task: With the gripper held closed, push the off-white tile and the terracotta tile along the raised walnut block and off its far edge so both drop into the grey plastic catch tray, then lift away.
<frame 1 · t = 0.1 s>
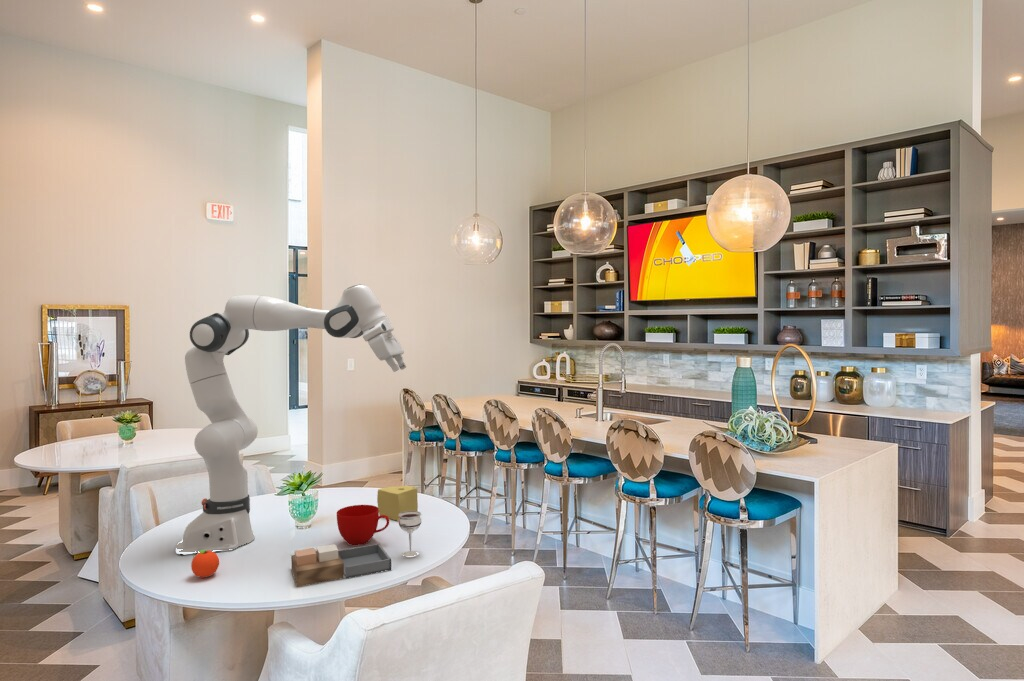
hand: (400, 369, 191), 54 cm above the table, tool tilted 30°, fingers open, 8 cm apart
tile a: (327, 557, 170), point 4 cm above the table, touching walnut block
tile b: (305, 561, 167), point 4 cm above the table, touching walnut block
cheese: (398, 516, 220), on the table
clementine: (204, 576, 168), on the table
wineglass: (410, 555, 182), on the table
walnut block: (317, 573, 168), on the table
catch tray: (363, 565, 174), on the table
ceramic cup: (364, 542, 193), on the table
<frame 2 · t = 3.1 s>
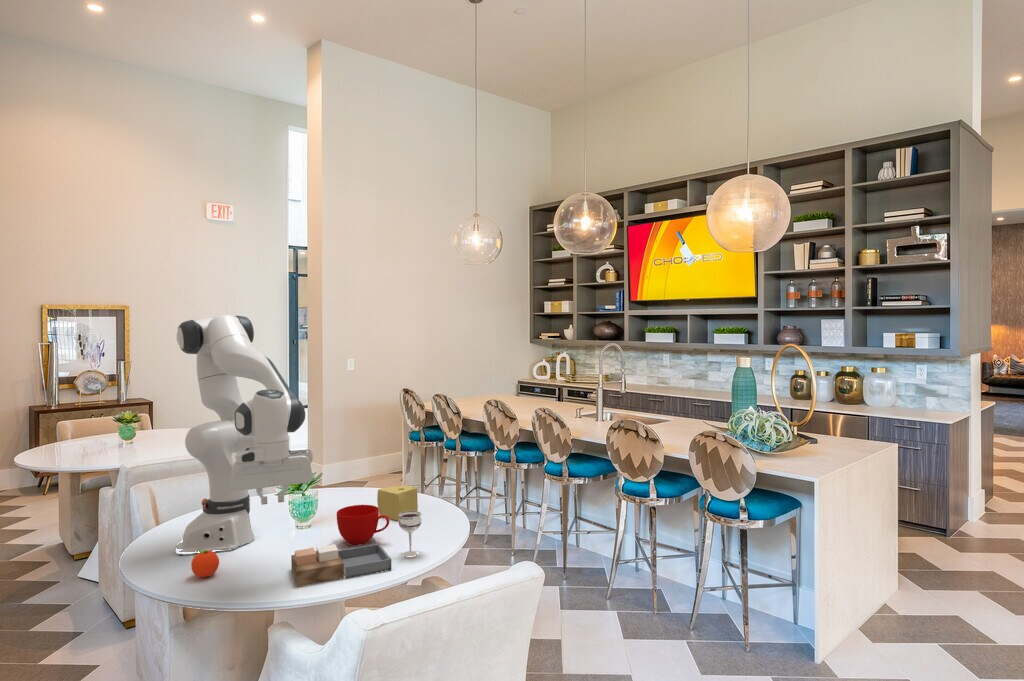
hand: (272, 502, 163), 21 cm above the table, tool pointing down, fingers open, 3 cm apart
nothing on the table moved.
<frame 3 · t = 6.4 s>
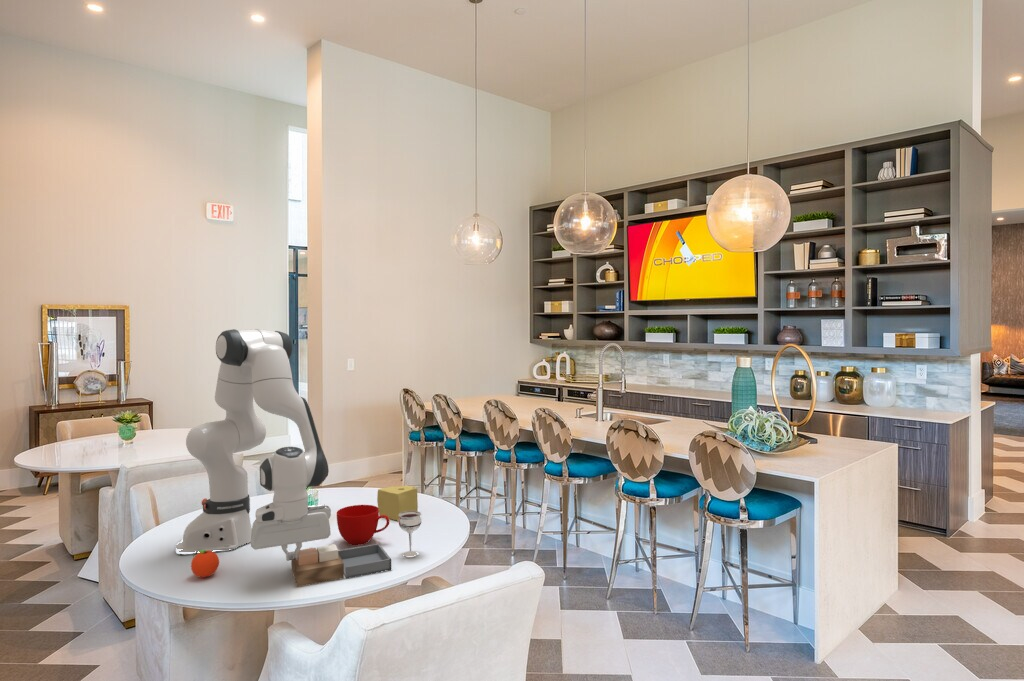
hand: (292, 559, 165), 5 cm above the table, tool pointing down, fingers closed
tile b: (307, 560, 167), point 4 cm above the table, touching gripper, walnut block
everything else where it was.
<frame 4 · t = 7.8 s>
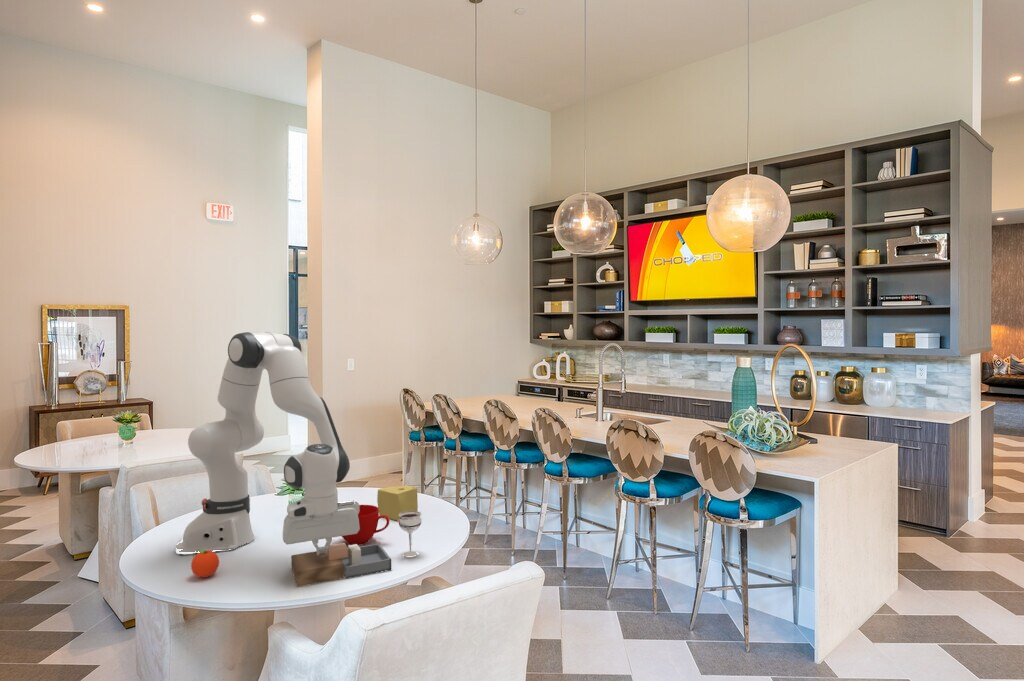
hand: (322, 554, 169), 5 cm above the table, tool pointing down, fingers closed
tile a: (350, 557, 172), point 3 cm above the table, tilted 90°, touching catch tray
tile b: (337, 555, 171), point 4 cm above the table, touching walnut block
everything else where it was.
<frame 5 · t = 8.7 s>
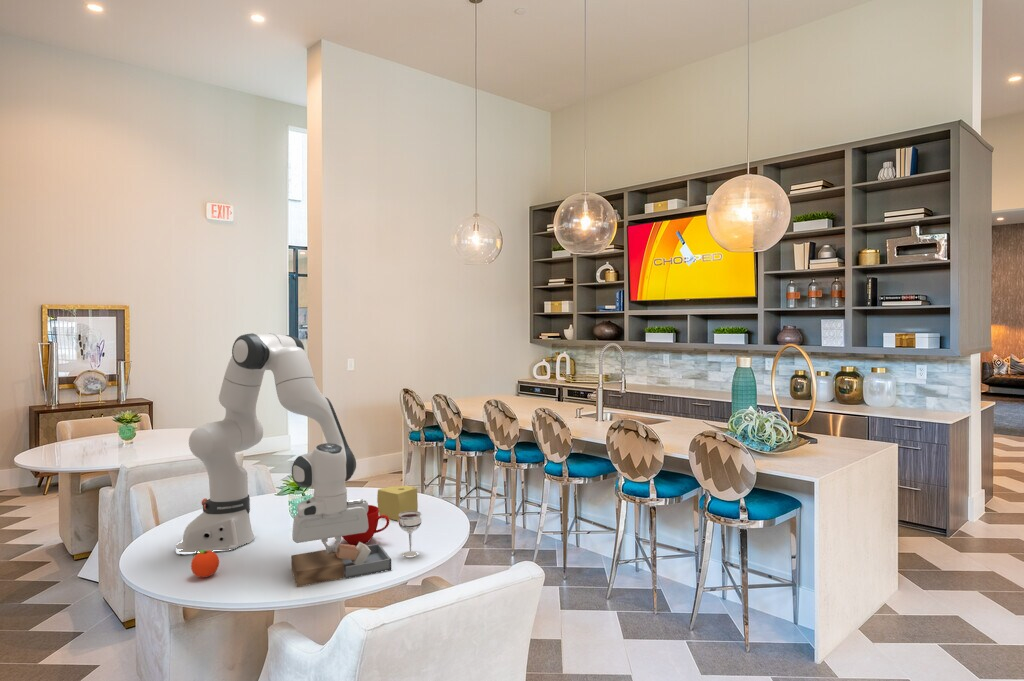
hand: (331, 552, 170), 5 cm above the table, tool pointing down, fingers closed
tile a: (356, 552, 173), point 4 cm above the table, tilted 124°, touching catch tray
tile b: (345, 556, 172), point 4 cm above the table, tilted 16°, touching gripper
everything else where it was.
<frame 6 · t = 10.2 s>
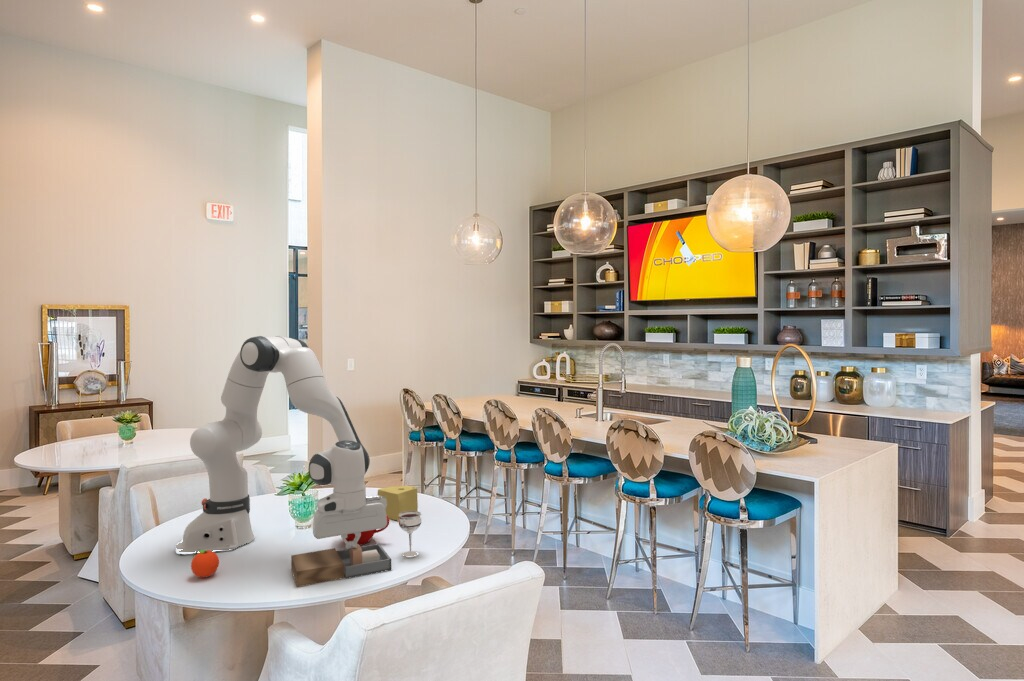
hand: (351, 548, 172), 5 cm above the table, tool pointing down, fingers closed, pressing on tile b
tile a: (369, 553, 175), point 3 cm above the table, tilted 180°, touching catch tray, tile b
tile b: (351, 557, 172), point 3 cm above the table, tilted 90°, touching catch tray, gripper, tile a
everything else where it was.
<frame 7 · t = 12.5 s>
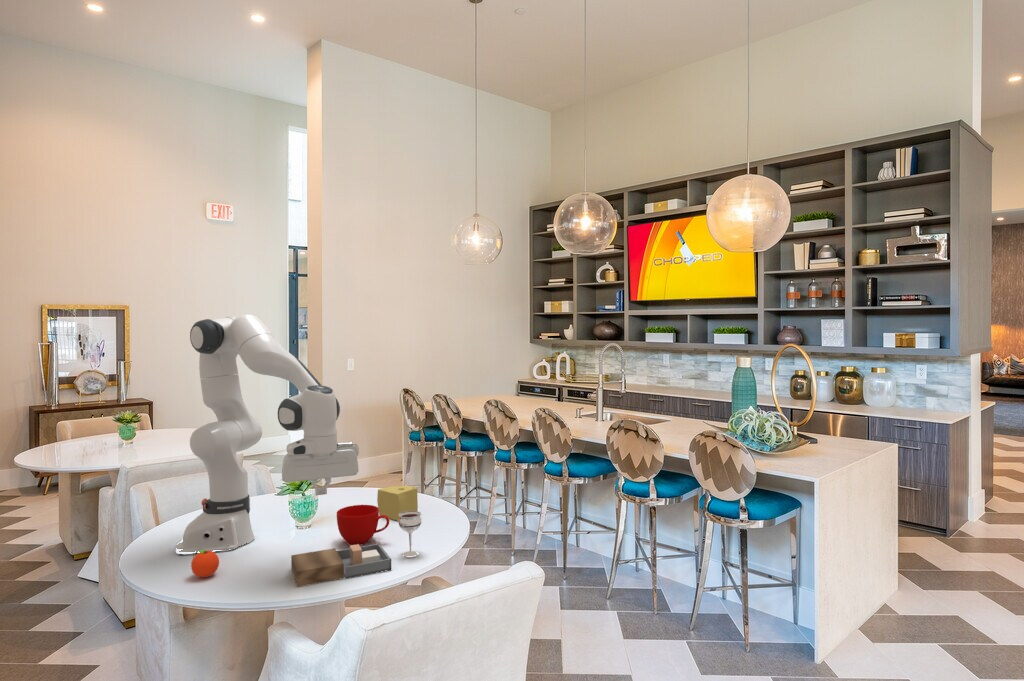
hand: (321, 494, 170), 22 cm above the table, tool pointing down, fingers closed
tile a: (369, 553, 175), point 3 cm above the table, tilted 180°, touching catch tray
tile b: (351, 557, 172), point 3 cm above the table, tilted 90°, touching catch tray
everything else where it was.
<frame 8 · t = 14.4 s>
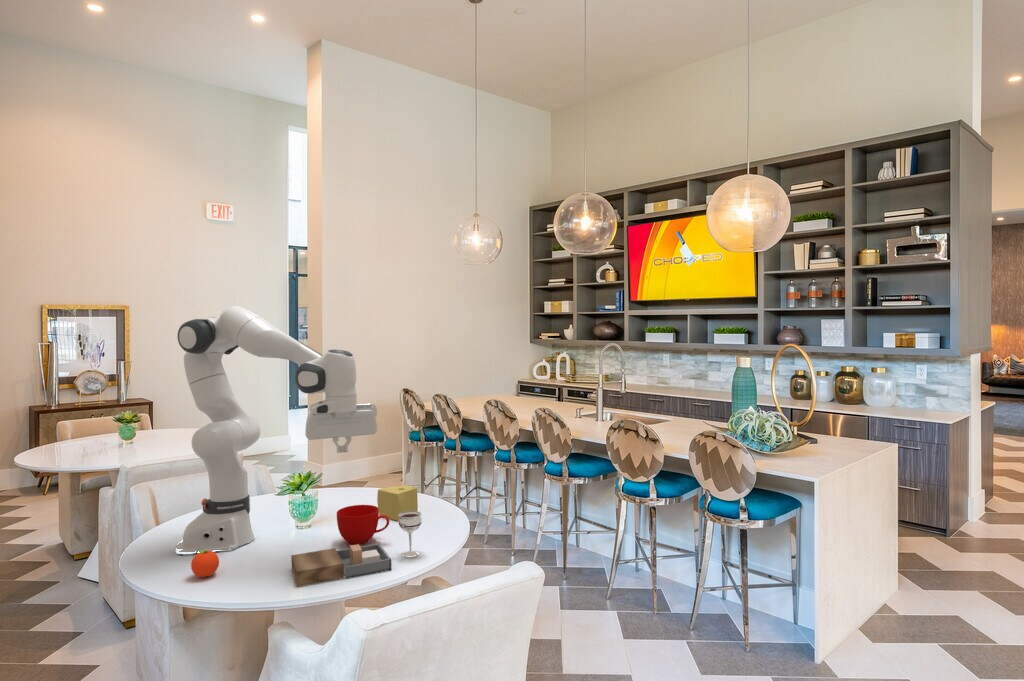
hand: (342, 452, 180), 31 cm above the table, tool pointing down, fingers closed
nothing on the table moved.
at the end: tile a inside the target area (1.3 cm from its centre), point 3.0 cm above the table; tile b inside the target area (3.7 cm from its centre), point 3.0 cm above the table; tile b moved 12.3 cm from its start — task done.
